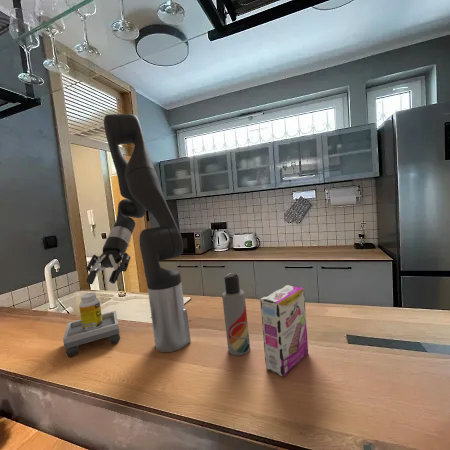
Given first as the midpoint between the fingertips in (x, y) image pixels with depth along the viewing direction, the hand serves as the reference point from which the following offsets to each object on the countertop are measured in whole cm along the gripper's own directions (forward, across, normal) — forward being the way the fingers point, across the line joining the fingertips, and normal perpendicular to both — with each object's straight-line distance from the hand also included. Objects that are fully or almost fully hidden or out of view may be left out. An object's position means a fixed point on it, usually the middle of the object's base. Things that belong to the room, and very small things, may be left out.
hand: (100, 282), depth 83 cm
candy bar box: (+20, +58, +4) cm, 61 cm away
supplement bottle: (+13, 0, +5) cm, 13 cm away
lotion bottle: (+17, +45, +7) cm, 49 cm away
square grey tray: (+16, 0, +8) cm, 18 cm away
